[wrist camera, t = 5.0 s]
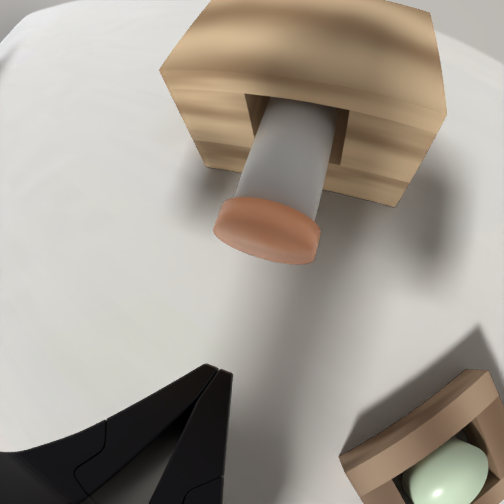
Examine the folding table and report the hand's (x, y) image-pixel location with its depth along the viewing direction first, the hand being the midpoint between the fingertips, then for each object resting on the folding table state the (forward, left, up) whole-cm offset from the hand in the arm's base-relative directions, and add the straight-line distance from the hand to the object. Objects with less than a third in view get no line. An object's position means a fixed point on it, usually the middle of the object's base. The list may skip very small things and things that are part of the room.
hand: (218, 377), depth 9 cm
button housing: (+8, -12, -11) cm, 18 cm away
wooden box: (+9, +15, -11) cm, 20 cm away
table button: (+8, -12, -11) cm, 18 cm away
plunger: (+5, +8, -7) cm, 12 cm away
